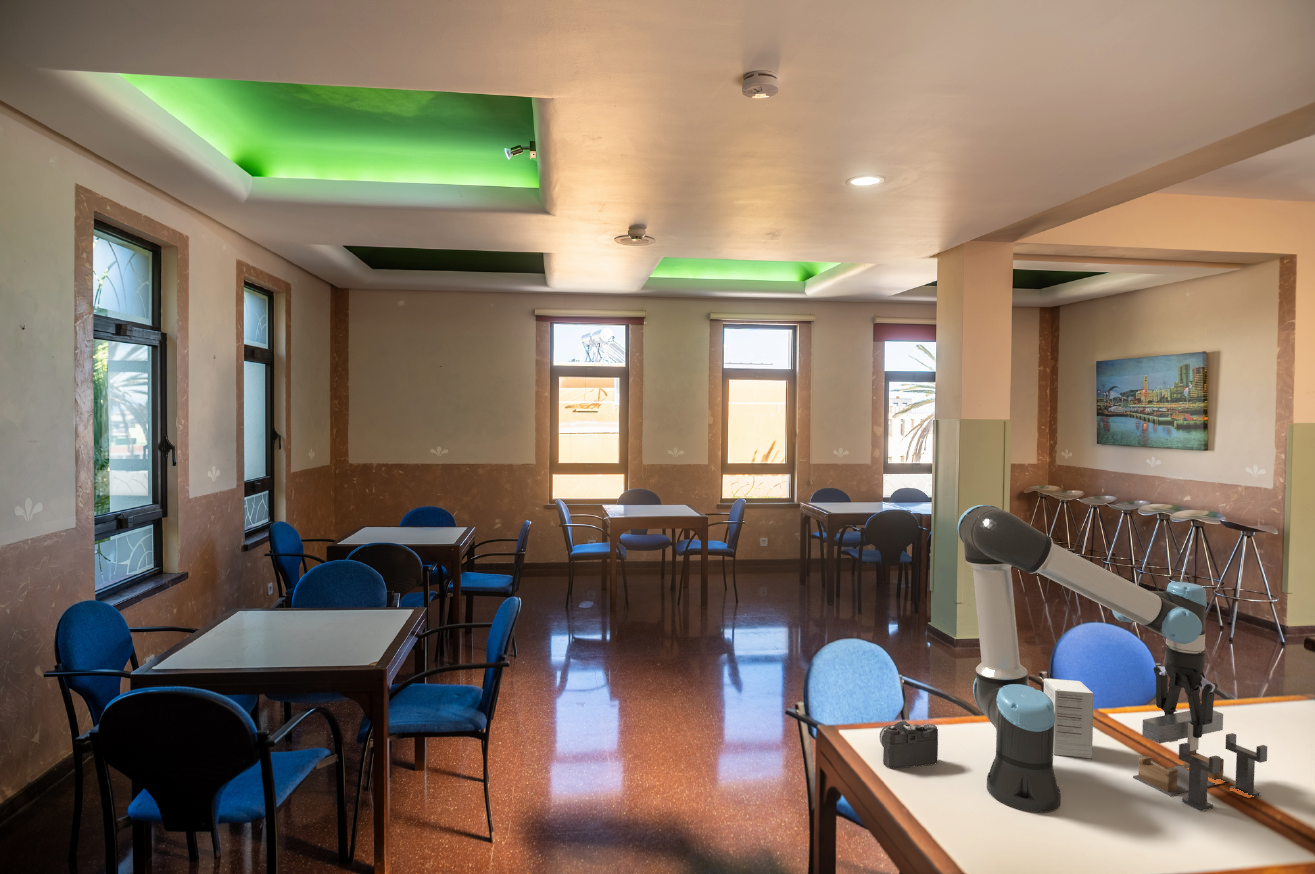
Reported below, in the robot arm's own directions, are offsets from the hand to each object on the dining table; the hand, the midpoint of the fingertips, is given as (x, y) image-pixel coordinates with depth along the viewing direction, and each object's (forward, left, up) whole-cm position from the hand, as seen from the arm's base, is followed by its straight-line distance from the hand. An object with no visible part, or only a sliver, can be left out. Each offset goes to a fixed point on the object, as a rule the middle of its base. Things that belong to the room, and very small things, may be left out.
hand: (1182, 744), depth 172 cm
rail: (0, 0, +3) cm, 3 cm away
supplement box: (-12, +21, -9) cm, 26 cm away
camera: (-56, +31, -9) cm, 65 cm away
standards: (0, -9, -9) cm, 12 cm away
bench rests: (0, 0, -9) cm, 9 cm away
